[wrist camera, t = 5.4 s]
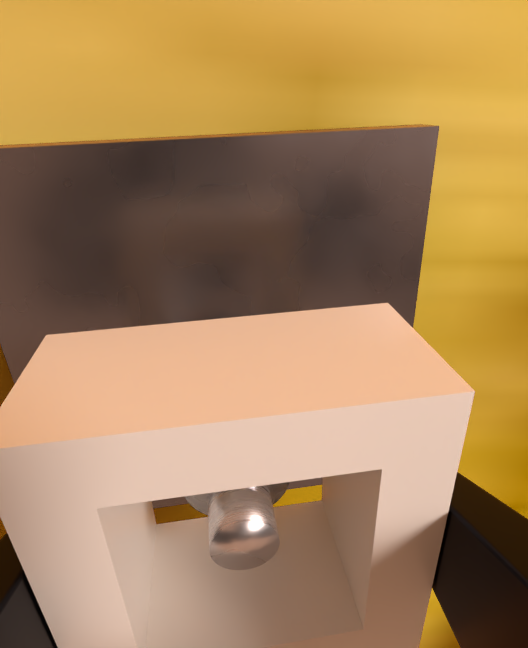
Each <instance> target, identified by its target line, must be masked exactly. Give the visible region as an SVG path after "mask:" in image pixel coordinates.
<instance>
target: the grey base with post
mask: <svg viewBox="0 0 528 648" xmlns="http://www.w3.org/2000/svg"><path fill="white" fill-rule="evenodd" d="M438 131H439V126H433V125H422V124H420V125H400V126H380V127H360V128H340V129H320V130H300V131H279V132H259V133H239V134H219V135H199V136H179V137H159V138H139V139H119V140H99V141H79V142H59V143H39V144H19V145H0V344H1V347H2V350H3V353H4V356H5V358H6V361H7V364H8V367H9V370H10V373H11V375H12V378H13V381H14V384H15V383H16V382H17V380H18V378H19V377H20V375H21V374H22V372H23V371H24V369H25V367H26V366H27V364H28V363H29V361H30V360H31V358H32V356H33V355H34V353H35V352H36V350H37V349H38V347H39V345H40V344H41V342H42V341H43V339H44V338H45V336H46V335H51V334H62V333H72V332H83V331H93V330H104V329H115V328H125V327H136V326H147V325H157V324H168V323H178V322H189V321H200V320H210V319H221V318H231V317H242V316H253V315H263V314H274V313H284V312H295V311H306V310H316V309H327V308H337V307H348V306H359V305H369V304H380V303H389V304H390V305H391V306H392V307H393V308H394V309H395V310H396V311H397V312H398V313H399V315H400V316H401V317H402V318H403V319H404V320H405V321H406V322H407V323H408V324H409V325H410V326H411V327H412V328H413V323H414V316H415V308H416V300H417V293H418V285H419V277H420V270H421V262H422V254H423V247H424V239H425V231H426V223H427V216H428V208H429V200H430V193H431V185H432V177H433V170H434V162H435V154H436V147H437V139H438ZM322 481H323V477H321V478H314V479H307V480H299V481H292V482H285V483H278V484H270V485H263V486H256V487H249V488H241V489H234V490H227V491H220V492H212V493H205V494H198V495H191V496H183V497H176V498H169V499H162V500H154V501H152V506H153V508H160V507H167V506H174V505H181V504H188V503H189V504H190V505H191V506H192V507H194V508H195V509H196V510H198V511H199V512H201V513H203V514H206V515H208V527H209V553H210V556H211V558H212V560H213V561H214V562H215V563H216V564H218V565H219V566H221V567H223V568H226V569H231V570H247V569H252V568H255V567H258V566H260V565H262V564H264V563H266V562H267V561H269V560H270V559H271V558H272V557H273V556H274V555H275V554H276V552H277V551H278V548H279V545H280V540H279V534H278V529H277V524H276V519H275V514H274V509H273V504H274V503H276V502H277V501H278V500H279V499H280V498H281V497H282V495H283V494H284V493H285V491H286V489H293V488H301V487H308V486H315V485H322Z"/></svg>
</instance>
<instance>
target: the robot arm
mask: <svg viewBox="0 0 528 648" xmlns="http://www.w3.org/2000/svg"><path fill="white" fill-rule="evenodd" d="M432 588H433V590H434V592H435V595H436V597H437V599H438V601H439V603H440V605H441V607H442V609H443V611H444V613H445V616H446V618H447V620H448V622H449V624H450V626H451V628H452V630H453V632H454V634H455V636H456V639H457V641H458V643H459V645H460V647H461V648H528V519H527V518H525V517H524V516H522V515H521V514H519V513H518V512H516V511H515V510H513V509H512V508H510V507H509V506H507V505H506V504H504V503H503V502H501V501H500V500H498V499H497V498H495V497H494V496H492V495H491V494H489V493H488V492H486V491H485V490H483V489H482V488H480V487H479V486H477V485H476V484H475V483H473V482H472V481H470V480H469V479H467V478H466V477H464V476H463V475H461V474H460V473H458V472H457V475H456V480H455V484H454V489H453V493H452V498H451V503H450V507H449V512H448V516H447V521H446V525H445V530H444V534H443V539H442V544H441V548H440V553H439V557H438V562H437V566H436V571H435V575H434V580H433V585H432ZM0 648H58V647H57V645H56V642H55V640H54V638H53V636H52V633H51V631H50V629H49V627H48V624H47V622H46V620H45V617H44V615H43V613H42V611H41V608H40V606H39V604H38V602H37V599H36V597H35V595H34V592H33V590H32V588H31V586H30V583H29V581H28V579H27V577H26V574H25V572H24V570H23V568H22V565H21V563H20V561H19V558H18V556H17V554H16V552H15V549H14V547H13V545H12V543H11V540H10V538H9V536H8V533H6V534H5V535H4V536H3V537H2V539H1V540H0Z"/></svg>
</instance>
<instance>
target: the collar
mask: <svg viewBox="0 0 528 648" xmlns="http://www.w3.org/2000/svg"><path fill="white" fill-rule="evenodd" d="M474 393H475V391H474V390H473V389H472V388H471V387H470V386H469V385H468V384H467V383H466V382H465V381H464V380H463V379H462V378H461V377H460V376H459V375H458V374H457V373H456V372H455V371H454V370H453V369H452V368H451V366H450V365H449V364H448V363H447V362H446V361H445V360H444V359H443V358H442V357H441V356H440V355H439V354H438V353H437V352H436V351H435V350H434V349H433V348H432V347H431V346H430V345H429V344H428V343H427V342H426V341H425V340H424V339H423V338H422V337H421V336H420V335H419V334H418V333H417V332H416V331H415V330H414V329H413V328H412V327H411V326H410V325H409V324H408V323H407V322H406V321H405V320H404V319H403V318H402V317H401V316H400V315H399V313H398V312H397V311H396V310H395V309H394V308H393V307H392V306H391V305H390V304H389V303H380V304H369V305H359V306H348V307H337V308H327V309H316V310H306V311H295V312H284V313H274V314H263V315H253V316H242V317H231V318H221V319H210V320H200V321H189V322H178V323H168V324H157V325H147V326H136V327H125V328H115V329H104V330H93V331H83V332H72V333H62V334H51V335H46V336H45V338H44V339H43V341H42V342H41V344H40V345H39V347H38V349H37V350H36V352H35V353H34V355H33V356H32V358H31V360H30V361H29V363H28V364H27V366H26V367H25V369H24V371H23V372H22V374H21V375H20V377H19V378H18V380H17V382H16V383H15V385H14V386H13V388H12V389H11V391H10V393H9V394H8V396H7V397H6V399H5V400H4V402H3V403H2V405H1V407H0V518H1V520H2V522H3V524H4V527H5V529H6V531H7V533H8V536H9V538H10V540H11V543H12V545H13V547H14V549H15V552H16V554H17V556H18V558H19V561H20V563H21V565H22V568H23V570H24V572H25V574H26V577H27V579H28V581H29V583H30V586H31V588H32V590H33V592H34V595H35V597H36V599H37V602H38V604H39V606H40V608H41V611H42V613H43V615H44V617H45V620H46V622H47V624H48V627H49V629H50V631H51V633H52V636H53V638H54V640H55V642H56V645H57V647H58V648H419V644H420V639H421V635H422V630H423V626H424V621H425V617H426V612H427V607H428V603H429V598H430V594H431V589H432V585H433V580H434V575H435V571H436V566H437V562H438V557H439V553H440V548H441V544H442V539H443V534H444V530H445V525H446V521H447V516H448V512H449V507H450V503H451V498H452V493H453V489H454V484H455V480H456V475H457V471H458V466H459V462H460V457H461V452H462V448H463V443H464V439H465V434H466V430H467V425H468V420H469V416H470V411H471V407H472V402H473V398H474ZM321 477H323V481H322V501H315V502H308V503H301V504H294V505H287V506H280V507H273V509H274V514H275V519H276V524H277V529H278V534H279V540H280V545H279V548H278V551H277V552H276V554H275V555H274V556H273V557H272V558H271V559H270V560H269V561H267V562H266V563H264V564H262V565H260V566H258V567H255V568H252V569H247V570H231V569H226V568H223V567H221V566H219V565H218V564H216V563H215V562H214V561H213V560H212V558H211V556H210V553H209V527H208V517H203V518H197V519H190V520H183V521H176V522H169V523H162V524H156V520H155V515H154V511H153V506H152V501H154V500H162V499H169V498H176V497H183V496H191V495H198V494H205V493H212V492H220V491H227V490H234V489H241V488H249V487H256V486H263V485H270V484H278V483H285V482H292V481H299V480H307V479H314V478H321Z"/></svg>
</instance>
